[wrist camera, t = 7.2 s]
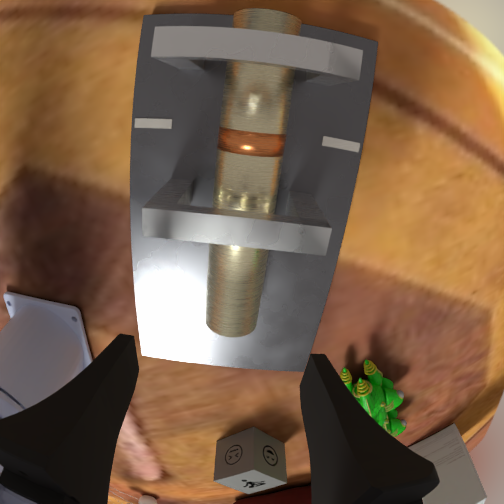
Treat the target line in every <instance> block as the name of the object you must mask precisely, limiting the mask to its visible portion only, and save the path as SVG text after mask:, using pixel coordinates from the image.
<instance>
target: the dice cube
mask: <svg viewBox="0 0 504 504" xmlns="http://www.w3.org/2000/svg"><path fill="white" fill-rule="evenodd" d="M214 481H215V482H217V483H220V484H222V485H225V486H227V487H230V488H233V489H235V490H238V491H241V492H244V493H247V494H250V493H254V492H258V491H262V490H265V489H269V488H273V487H276V486H279V485H283V484H286V483H287V473H286V459H285V445H284V443H282V442H280V441H279V440H277V439H275V438H273V437H271V436H269V435H268V434H266V433H264V432H262V431H261V430H259V429H257V428H255V427H254V426H253V427H251V428H249V429H246V430H244V431H241V432H239V433H237V434H234V435H232V436H229V437H226V438H224V439H221V440H219V441H217V445H216V457H215V470H214Z"/></svg>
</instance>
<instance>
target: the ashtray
mask: <svg viewBox="0 0 504 504" xmlns="http://www.w3.org/2000/svg"><path fill="white" fill-rule="evenodd" d="M311 500H312V493H311V485H308V486H306V487H297V488H292V489H288V490H284V491H280V492H276V493H272V494H266V495H260V496H254V497H248V498H244V499H240V500H237V501H236V502H235V503H234V504H311Z"/></svg>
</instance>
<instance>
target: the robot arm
mask: <svg viewBox="0 0 504 504" xmlns="http://www.w3.org/2000/svg"><path fill="white" fill-rule="evenodd" d="M4 299H5V303H6V306H7V309H8V312H9V315H10V317H11V319H10V320H9V322H8V323H7V324H6V325H5V326H4V328H3V329H2V330H1V331H0V504H107V503H108V491H109V483H110V476H111V469H112V464H113V458H114V453H115V448H116V443H117V439H118V435H119V432H120V429H121V426H122V423H123V421H124V418H125V415H126V412H127V410H128V407H129V404H130V401H131V398H132V396H133V393H134V390H135V386H136V382H137V377H138V373H139V366H138V360H137V353H136V347H135V340H134V336H131V335H125V334H119V335H118V336H117V337H116V338H115V339H114V340H113V341H112V342H111V343H110V344H109V345H108V346H107V347H106V348H105V349H104V350H103V351H102V352H101V353H100V354H99V355H98V356H97V357H96V358H95V359H94V360H92V356H91V353H90V349H89V345H88V342H87V338H86V334H85V330H84V326H83V321H82V317H81V313H80V310H79V309H78V308H77V307H75V306H71V305H66V304H61V303H56V302H52V301H47V300H42V299H38V298H33V297H29V296H25V295H21V294H16V293H12V292H8V291H7V292H6V293H5V294H4ZM75 317H76V318H77V319H76V318H75ZM300 400H301V410H302V416H303V421H304V426H305V432H306V437H307V443H308V448H309V455H310V467H311V493H312V500H311V504H423V501H422V498H423V497H425V496H426V495H427V494H429V493H430V492H431V491H433V490H434V489H435V488H436V487H437V486H438V484H439V483H440V480H439V477H438V473H437V470H436V468H435V466H434V464H433V462H431V461H429V460H427V459H425V458H424V457H422V456H420V455H418V454H417V453H415V452H413V451H412V450H410V449H409V448H408V447H406V446H405V445H403V444H402V443H400V442H399V441H398V440H397V439H395V438H394V437H393V436H392V435H390V434H389V433H388V432H387V431H386V430H384V429H383V428H382V427H381V426H380V425H379V424H378V423H377V422H376V421H375V420H374V419H373V418H372V417H371V416H370V415H369V414H368V413H367V411H366V410H365V409H364V408H363V407H362V406H361V404H360V403H359V402H358V401H357V400H356V398H355V397H354V396H353V394H352V393H351V392H350V390H349V389H348V388H347V386H346V385H345V384H344V382H343V381H342V379H341V378H340V376H339V375H338V373H337V372H336V370H335V369H334V367H333V366H332V364H331V363H330V361H329V360H328V358H327V356H326V355H325V354H310V357H309V360H308V363H307V366H306V369H305V372H304V375H303V378H302V381H301V384H300ZM447 504H450V503H447Z"/></svg>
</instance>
